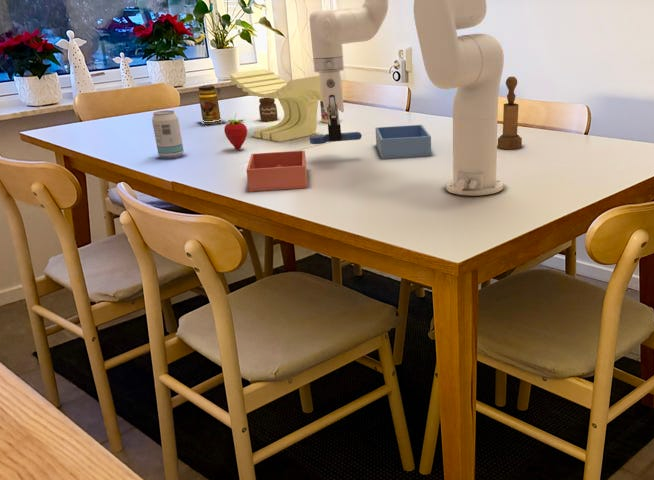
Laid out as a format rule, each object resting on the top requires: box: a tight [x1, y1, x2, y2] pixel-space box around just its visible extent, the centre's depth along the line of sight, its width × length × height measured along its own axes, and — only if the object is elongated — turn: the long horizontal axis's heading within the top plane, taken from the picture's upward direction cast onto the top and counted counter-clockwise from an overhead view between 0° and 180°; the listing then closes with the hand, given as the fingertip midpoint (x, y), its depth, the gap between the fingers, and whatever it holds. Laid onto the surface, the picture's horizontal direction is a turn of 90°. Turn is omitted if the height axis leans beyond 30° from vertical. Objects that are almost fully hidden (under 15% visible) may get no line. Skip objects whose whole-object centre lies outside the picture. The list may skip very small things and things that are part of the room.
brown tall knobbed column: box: [497, 76, 523, 150], centre depth 197 cm, size 7×6×18 cm
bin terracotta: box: [246, 150, 308, 192], centre depth 177 cm, size 17×13×5 cm
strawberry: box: [223, 114, 248, 151], centre depth 210 cm, size 6×8×10 cm
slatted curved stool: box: [229, 68, 323, 143], centre depth 225 cm, size 30×16×18 cm, turn 45°
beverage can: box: [151, 110, 185, 160], centre depth 204 cm, size 7×7×12 cm
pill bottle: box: [319, 101, 329, 124], centre depth 244 cm, size 6×6×10 cm
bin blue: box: [375, 124, 432, 160], centre depth 201 cm, size 17×13×5 cm
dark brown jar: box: [258, 97, 279, 122], centre depth 251 cm, size 6×6×12 cm
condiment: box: [198, 85, 222, 125], centre depth 250 cm, size 7×8×12 cm
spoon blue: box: [308, 131, 363, 145], centre depth 194 cm, size 14×4×2 cm, turn 96°
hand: (335, 139), depth 194 cm, fingers closed on spoon blue, 2 cm apart
